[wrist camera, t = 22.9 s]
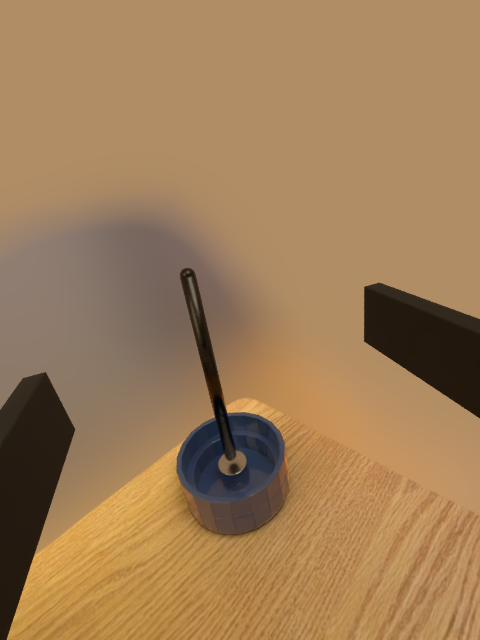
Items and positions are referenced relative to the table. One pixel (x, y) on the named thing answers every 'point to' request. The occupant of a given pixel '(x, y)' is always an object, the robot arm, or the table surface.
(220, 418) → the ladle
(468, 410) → the robot arm
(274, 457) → the bowl
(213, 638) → the table surface
